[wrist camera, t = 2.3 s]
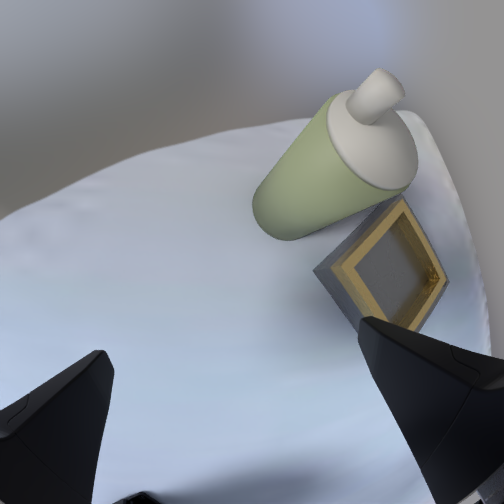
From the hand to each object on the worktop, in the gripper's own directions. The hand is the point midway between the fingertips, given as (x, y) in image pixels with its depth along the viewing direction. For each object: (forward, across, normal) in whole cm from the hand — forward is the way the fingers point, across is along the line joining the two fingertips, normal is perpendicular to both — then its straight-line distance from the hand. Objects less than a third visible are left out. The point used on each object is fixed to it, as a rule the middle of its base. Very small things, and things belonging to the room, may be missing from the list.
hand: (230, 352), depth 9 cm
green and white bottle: (+15, -5, -2) cm, 16 cm away
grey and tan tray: (+14, -14, +6) cm, 21 cm away
